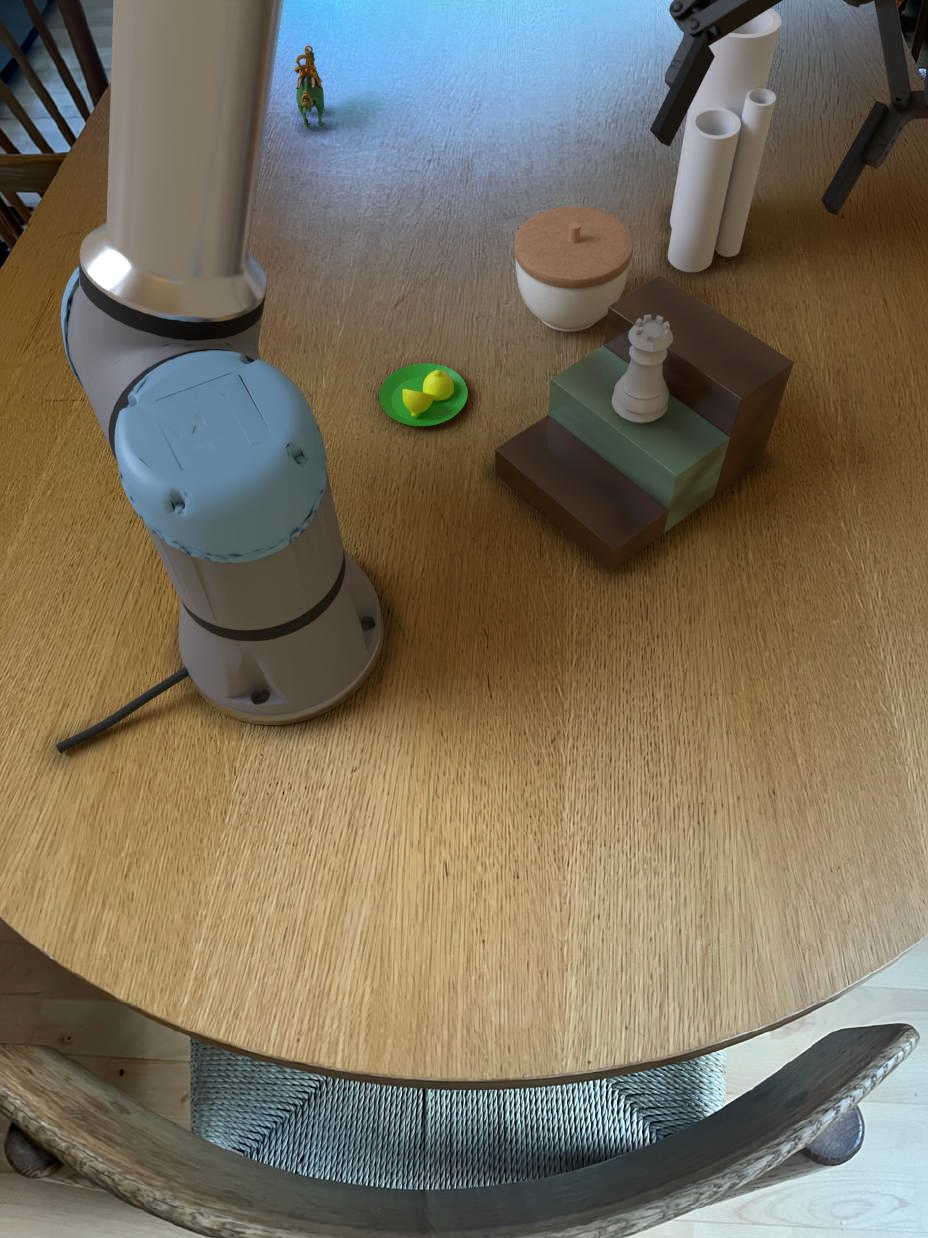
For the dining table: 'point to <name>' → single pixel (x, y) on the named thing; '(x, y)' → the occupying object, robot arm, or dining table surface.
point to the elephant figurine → (309, 87)
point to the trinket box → (572, 265)
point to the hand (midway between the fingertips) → (740, 172)
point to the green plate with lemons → (423, 394)
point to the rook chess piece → (644, 373)
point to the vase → (724, 146)
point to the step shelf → (648, 428)
